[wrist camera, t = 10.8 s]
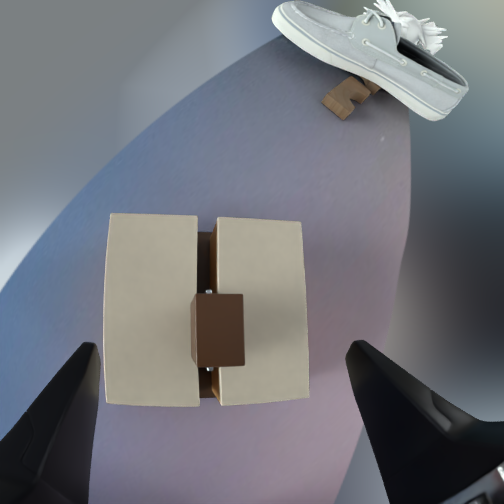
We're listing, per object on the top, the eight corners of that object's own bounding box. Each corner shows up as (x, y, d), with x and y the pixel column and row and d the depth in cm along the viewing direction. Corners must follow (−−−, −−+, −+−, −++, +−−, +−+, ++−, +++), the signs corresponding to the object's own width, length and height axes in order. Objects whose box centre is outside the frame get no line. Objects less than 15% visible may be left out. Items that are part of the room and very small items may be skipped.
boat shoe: (258, 33, 28) (281, -26, 20) (285, 9, 31) (307, -38, 23) (438, 146, 31) (485, 110, 23) (439, 106, 34) (476, 73, 26)
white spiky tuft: (430, 91, 33) (462, 54, 25) (355, 54, 32) (381, 7, 24) (418, 51, 37) (443, 18, 29) (353, 19, 35) (373, -20, 27)
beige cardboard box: (283, 391, 22) (311, 404, 17) (120, 394, 19) (105, 411, 14) (277, 237, 25) (302, 214, 20) (122, 231, 22) (110, 204, 17)
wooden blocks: (360, 108, 27) (303, 62, 27) (346, 124, 30) (293, 81, 30) (425, 46, 37) (391, 18, 37) (416, 56, 40) (383, 29, 40)
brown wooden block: (216, 361, 21) (246, 382, 12) (188, 361, 20) (196, 384, 11) (215, 299, 22) (243, 276, 13) (187, 299, 21) (194, 275, 12)
